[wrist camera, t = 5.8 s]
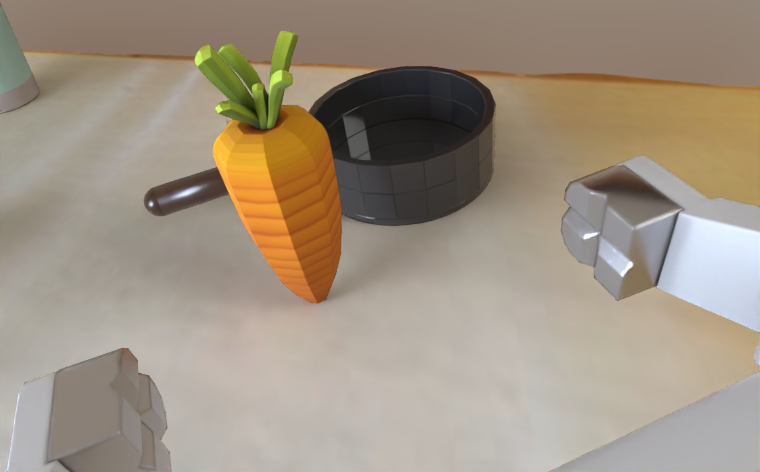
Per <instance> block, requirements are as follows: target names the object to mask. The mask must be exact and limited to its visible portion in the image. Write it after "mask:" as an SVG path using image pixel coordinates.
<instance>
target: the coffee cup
mask: <svg viewBox="0 0 760 472" xmlns="http://www.w3.org/2000/svg"><path fill="white" fill-rule="evenodd" d="M38 93H39V87H38V85H37V83H36V80H35V78H34V76H33V74H32V71H31V69H30V67H29V65H28V63H27V60H26V58H25V56H24V54H23V52H22V49H21V47H20V45H19V43H18V41H17V38H16V36H15V34H14V32H13V30H12V27H11V25H10V23H9V21H8V19H7V16H6V14H5V12H4V10H3V8H2V5H1V3H0V113H4V112H7V111H11V110H14V109H16V108H19V107H21V106H23V105H25V104H27V103H28V102H30V101H31V100H33V99H34V98H35V97H36V96H37V95H38Z"/></svg>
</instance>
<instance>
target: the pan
mask: <svg viewBox="0 0 760 472" xmlns="http://www.w3.org/2000/svg"><path fill="white" fill-rule="evenodd" d="M309 113H310V114H311V115H312V116H313V117H314V118H315V119H316V120H318V121H319V122H320V123H321V124H322V125H323V127H324V129H325V130H326V132H327V135H328V137H329V141H330V146H331V151H332V156H333V161H334V166H335V172H336V177H337V184H338V190H339V196H340V203H341V213H342V214H344V215H346V216H348V217H351V218H353V219H356V220H359V221H363V222H367V223H373V224H380V225H408V224H416V223H422V222H426V221H431V220H434V219H438V218H441V217H444V216H446V215H449V214H451V213H453V212H456V211H457V210H459V209H461V208H463V207H465V206H466V205H468V204H469V203H470V202H472V201H473V200H475V199H476V198H477V197H478V196H479V195H480V194H481V193H482V192H483V191H484V189H485V188H486V187H487V185H488V183H489V182H490V180H491V178H492V175H493V172H494V160H495V137H496V133H495V131H496V103H495V101H494V99H493V96H492V94H491V92H490V90H489V89H488V88H487V87H486V86H484V85H483V84H482V83H481V82H480V81H478V80H477V79H476V78H474V77H471V76H469V75H466V74H464V73H461V72H458V71H456V70H451V69H444V68H438V67H432V66H431V67H430V66H410V67H409V66H406V67H404V66H403V67H397V68H390V69H383V70H378V71H374V72H371V73H368V74H364V75H361V76H358V77H354V78H352V79H350V80H348V81H346V82H344V83H342V84H340V85H338V86H336V87H333V88H332V89H330V90H329V91H328V92H327V93H325V94H324V95H323V96H322V97H320V98H319V99H318V100H317V101H316V102H315V103H314V104H313V106H312V107H311V109H310V110H309Z"/></svg>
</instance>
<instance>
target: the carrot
mask: <svg viewBox="0 0 760 472" xmlns="http://www.w3.org/2000/svg"><path fill="white" fill-rule="evenodd" d="M297 39H298V35H297V34H295V33H293V32H291V31H280V34H279V36H278V38H277V40H276V44H275V47H274V50H273V54H272V61H271V72H270V84H269V94H267V92H266V90H265V86H264V84H262V82H261V80H260V78H259V76H258V74H257V72H256V71H255V70H254V68H253V67H252V66H251V65H250V63H249V62H248V61H247V60H246V58H245V57H244V56H243V55H242V54H241V53H240V52H239V51H238V50H237V49H236V48H235V47H234V46H233V45H232V44H228V45H224V46H222V47H221V49H220V50H219V51H218V53H217V51H216V50H215V49H214V48H212V46H211V45H210V44H209V45H207V46H204V47H201V49H200V50H199V51H198V52H197V54H196V56H195V62H196V65H197V67H198V68H199V69H200V71H201V72H202V73H203V74H204V75H205V76H206V77H207V78H208V79H209V80H210V81H211V82H212V83H213V84H214V85H215V86H216V87H217V88H218V89H219V90H220V91H221V92H222V93H223V94H224V95H225V96H226V97H227V98H228V99H229V100H228V101H222V102H221V103H219V104H218V105H217V107H216V108H215V109H216V111H217V113H219V114H221V115H224V116H227V117H229V118H232V120H231V121H230V123H229V124H228V125H227V126H226V128H225V129H224V130H223V131H222V133H221V134H220V135H219V136H218V138H217V139H216V141H215V143H214V144H213V156H214V159H215V163H216V165H217V167H218V170H219V172H220V174H221V176H222V179H223V181H224V183H225V186H226V188H227V190H228V192H229V195H230V197H231V199H232V201H233V203H234V205H235V207H236V209H237V211H238V214H239V216H240V218H241V220H242V222H243V224H244V226H245V228H246V229H247V231H248V232H249V234H250V235H251V237H252V239H253V240H254V242H255V243H256V245H257V246H258V248H259V249H260V251H261V252H262V254H263V255H264V257H265V258H266V260H267V261H268V263H269V264H270V266H271V267H272V269H273V270H274V271H275V273H276V274H277V276H278V277H279V278H280V280H281V281H282V283H283V284H285V285H286V286H287V287H288V288H289V289H290V290H291V291H292V292H294V293H295V294H296V295H298V296H299V297H301V298H303V299H305V300H306V301H308V302H310V303H317V304H318V303H320V302H322V301H324V300H326V298H327V296H328V293H329V291H330V288H331V286H332V283H333V280H334V278H335V275H336V272H337V268H338V264H339V259H340V255H341V234H342V225H341V203H340V196H339V190H338V184H337V177H336V172H335V166H334V161H333V156H332V151H331V146H330V141H329V137H328V135H327V132H326V130H325V129H324V127H323V125H322V124H321V123H320V122H319V121H318V120H316V119H315V118H314V117H313V116H312V115H311V114H310V113H309V112H307V111H306V110H305V109H304V108H302V107H300V106H298V105H282V100H283V95H284V90H285V88H287V87H289V86H290V85H292V83H293V77H292V74H291V73H289V68H290V63H291V59H292V55H293V52H294V49H295V46H296V43H297ZM230 67H231V68H232V69H233V70H234V71H235V72H236V73H237V74H238V75H239V76H240V77H241V78H242V80H243V81H244V83H245V84H246V85H247V87H248V88H249V90H250V91H251V93H252V94H253V98H254V99H253V98H252V96H251V95H250V93H249V92H248V90H247V89H246V87H245V86H244V85H243V83H242V82H241V80H240V79H239V78H238V76H237V75H236V74H235V73H234V71H233V70H232V69H231V68H230Z"/></svg>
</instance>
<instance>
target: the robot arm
mask: <svg viewBox="0 0 760 472" xmlns="http://www.w3.org/2000/svg"><path fill="white" fill-rule="evenodd" d="M564 200H565V201H566V202H567V204H568V205H569V206H570V207H569V208H568V210H567V211H566V213H565V214H564V216H563V217H562V225H561V233H562V236H563V239H564V243H565V245H566V247H567V248H568V250H569V252H570V253H571V255H572V256H573V257H574V258H575V259H576V260H577V261H578V262H579V263H582V264H585V265H588V266H591V267H594V278H595V279H596V280H597V281H598V282H599V283H600V284H601V285H602V286H603V287H604V288H605V289H606V290H607V291H608V292H609V293H610V294H611V295H612V296H613V297H614V298H615V299H616V300H617V301H619V300H621V299H624V298H627V297H629V296H632V295H634V294H637V293H639V292H642V291H644V290H647V289H650V288H652V287H655V286H657V288H658V289H660V290H662V291H664V292H667V293H669V294H671V295H674V296H676V297H678V298H681V299H683V300H685V301H688V302H690V303H692V304H695V305H697V306H699V307H701V308H704V309H706V310H708V311H711V312H713V313H715V314H718V315H720V316H722V317H725V318H727V319H729V320H732V321H734V322H736V323H739V324H741V325H743V326H745V327H748V328H750V329H752V330H755V331H757V332H759V333H760V207H759V206H755V205H750V204H746V203H741V202H737V201H732V200H728V199H723V198H719V197H717V198H714V199H711V200H710V199H709V198H707V197H706V196H704V195H703V194H701V193H700V192H698V191H697V190H695V189H694V188H693V187H691V186H690V185H688V184H687V183H685V182H684V181H682V180H681V179H679V178H678V177H676V176H675V175H674V174H672V173H671V172H669V171H668V170H666V169H665V168H663V167H662V166H660V165H659V164H657V163H656V162H655V161H653V160H652V159H650V158H648V157H645V156H637V157H634V158H632V159H629V160H627V161H624V162H621V163H619V164H616V165H615V166H611V167H608V168H606V169H603V170H601V171H598V172H595V173H593V174H590V175H587V176H585V177H582V178H580V179H577V180H574V181H572V182H570V183H569V184H568V186H567V187H566V189H565V196H564ZM754 361H755V362H757V363H758V364H759V365H760V343H759V344H758V346H757V348H756V350H755V352H754ZM166 430H167V420H166V412H165V408H164V405H163V401H162V398H161V395H160V393H159V391H158V389H157V387H156V385H155V383H154V382H153V380H152V379H151V378H150V376H148V375H145V374H141V373H138V360H137V359H136V358H135V356H134V355H133V354H132V353H131V351H130V350H129V349H128V348H121V349H118V350H115V351H112V352H109V353H106V354H104V355H101V356H98V357H95V358H92V359H89V360H86V361H83V362H80V363H77V364H74V365H72V366H69V367H66V368H63V369H60V370H59V371H56V372H53V373H50V374H48V375H45V376H42V377H39V378H36V379H33V380H30V381H27V382H25V383H24V385H23V386H22V388H21V389H20V391H19V395H18V402H17V408H16V415H15V422H14V428H13V435H12V442H11V449H10V455H9V462H8V469H7V472H171V461H170V452H169V450H168V449H167V448H166V447H165V445H164V444H163V443H162V442H161V439H162V437H163V435H164V433H165V431H166ZM549 472H760V371H759V372H757V373H755V374H753V375H751V376H748V377H746V378H744V379H742V380H740V381H738V382H736V383H734V384H732V385H730V386H727V387H725V388H723V389H721V390H719V391H717V392H715V393H713V394H711V395H709V396H706V397H704V398H702V399H700V400H698V401H696V402H694V403H692V404H690V405H688V406H685V407H683V408H681V409H679V410H677V411H675V412H673V413H671V414H669V415H667V416H664V417H662V418H660V419H658V420H656V421H654V422H652V423H650V424H648V425H646V426H643V427H641V428H639V429H637V430H635V431H633V432H631V433H629V434H627V435H625V436H622V437H620V438H618V439H616V440H614V441H612V442H610V443H608V444H606V445H604V446H602V447H599V448H597V449H595V450H593V451H591V452H589V453H587V454H585V455H583V456H581V457H578V458H576V459H574V460H572V461H570V462H568V463H566V464H564V465H562V466H560V467H557V468H555V469H553V470H551V471H549Z"/></svg>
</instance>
